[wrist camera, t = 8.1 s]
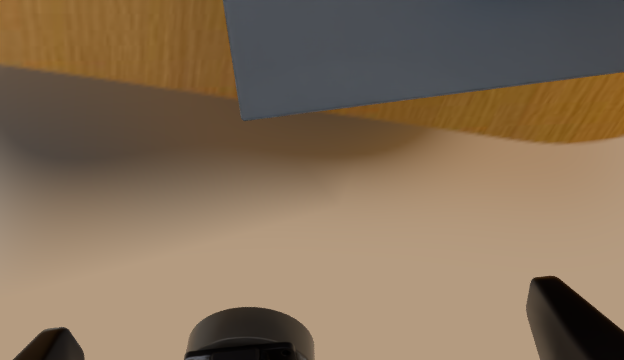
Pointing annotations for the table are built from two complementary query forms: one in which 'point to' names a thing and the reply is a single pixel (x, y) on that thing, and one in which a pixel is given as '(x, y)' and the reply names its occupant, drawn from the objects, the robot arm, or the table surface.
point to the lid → (411, 49)
